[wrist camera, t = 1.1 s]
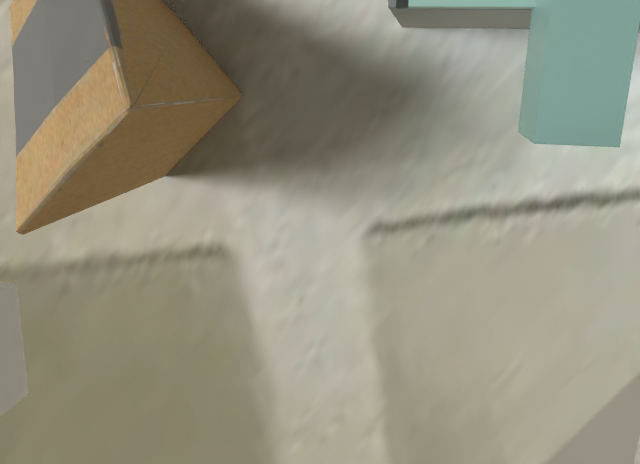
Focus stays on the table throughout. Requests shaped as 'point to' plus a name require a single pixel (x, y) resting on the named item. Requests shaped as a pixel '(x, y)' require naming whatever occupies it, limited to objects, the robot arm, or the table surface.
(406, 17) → the tub
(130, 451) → the table surface
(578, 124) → the lid
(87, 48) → the sandwich container
